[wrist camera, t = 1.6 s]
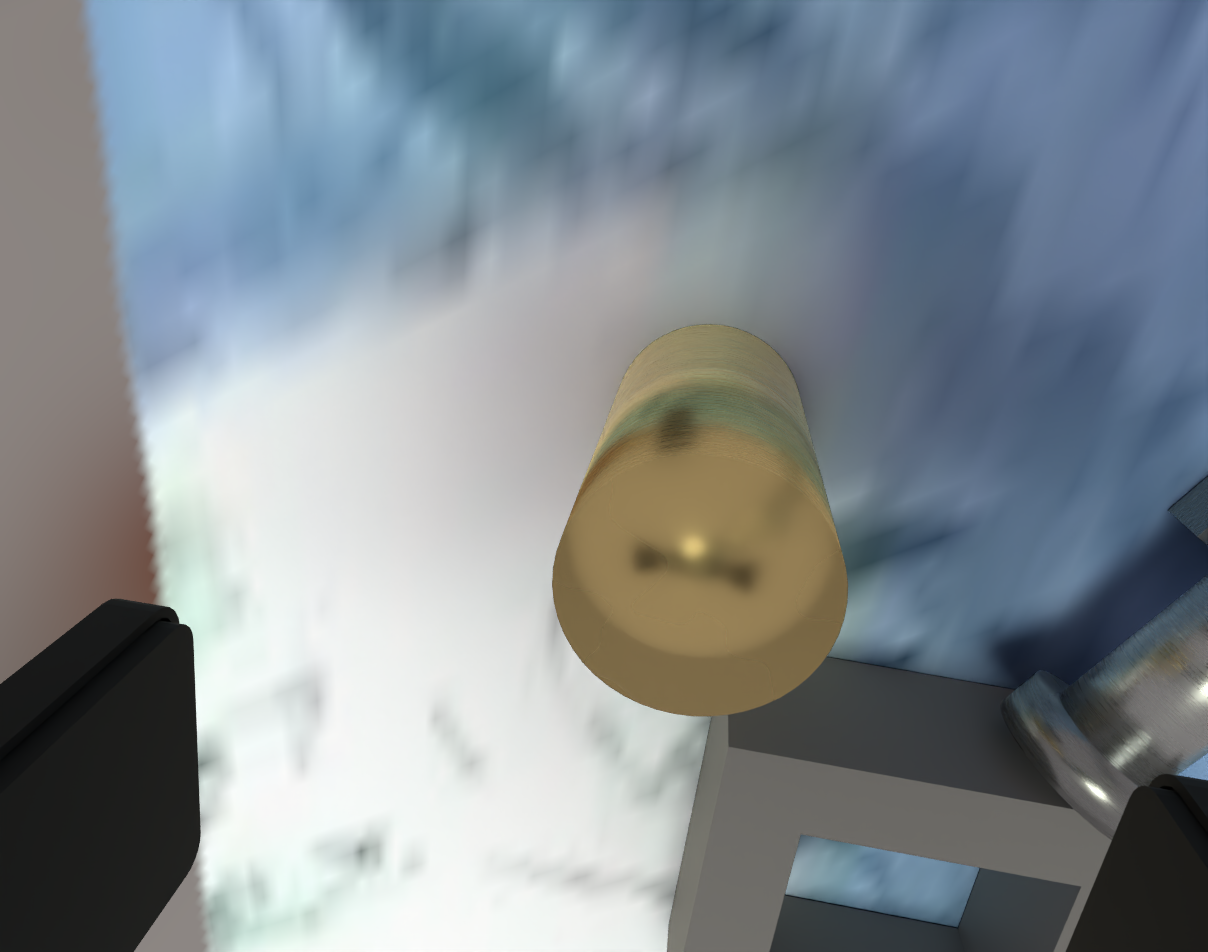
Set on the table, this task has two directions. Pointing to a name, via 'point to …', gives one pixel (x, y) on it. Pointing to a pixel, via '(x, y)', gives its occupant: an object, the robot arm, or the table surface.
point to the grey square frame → (878, 818)
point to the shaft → (1124, 705)
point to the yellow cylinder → (702, 533)
